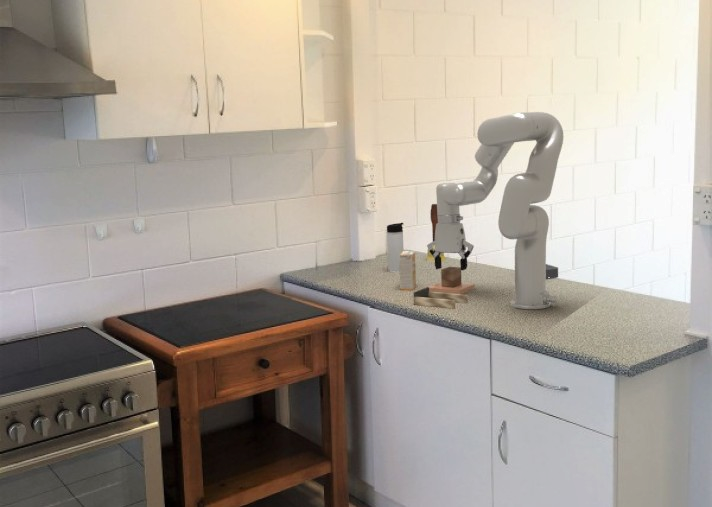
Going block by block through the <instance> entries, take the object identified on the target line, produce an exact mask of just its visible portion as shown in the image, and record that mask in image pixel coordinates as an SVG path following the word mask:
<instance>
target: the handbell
mask: <svg viewBox="0 0 712 507" xmlns="http://www.w3.org/2000/svg"><path fill="white" fill-rule="evenodd" d="M429 213H430V222H431V227H432V228H431V230H432V242H433V241H435V230H436V224H438V215H437V203H432V204H431V206H430V212H429ZM433 249H434V250H435V245H434V246H433ZM435 251H436V250H435ZM440 257H441V262H445V261H446V260H447V258H446V256H445V253H441V255H440ZM426 259H427V260H432V261H435V259H434V258H433V255H432V254H431V253H430V251H429V249H428V248H427V257H426ZM426 259H425V260H426ZM444 260H445V261H444Z"/></svg>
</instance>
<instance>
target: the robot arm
mask: <svg viewBox="0 0 712 507" xmlns="http://www.w3.org/2000/svg"><path fill="white" fill-rule="evenodd" d="M477 139H478V142H479V143H480V145H479V147H478V149H477V150H476V151H475V154H474V159H475V161H476V163H477V164H478V165H479V166H480V167H481V169H480V171H479V173H478V174H477V175H476V178H475V179H474V180H473V181H466V182H465V181H464V182H458V183H455V182H447V183H446V182H445V183H439V184H437V186H436V188H435V189H436V191H435V192H436V204H437V215H438V224H436V230H435V241H433V240H432V242H430V243H428V244H427V245H426V247H427V250H428V249H429V251H430V253H431V254H432V255H433V258H434V259H435V262H434V267H435V270H439V269H440V270H441V269H443V268H442V267H443V266H442V261H441V257H440V255H441V253H444V254H446V253H447V254H458V255H459V256H460V257H461V258H460V259H459V262H460V268H461V271H465V270H467V268H468V257H469V256H470V255H471V254H472V252H473V249H474V244H471V243H470V242H468V241H467V240H466V232H465V228H464V225H463V222H461V221H463V220H464V216H462V215H461V213H460V206H468V205H475V204H480V203H482V202H484V201H485V200H486V199H487V198H488V197H489V195H490V193H491V192H492V191H493V189H494V188H495V186H496V184H497V181H498V177H499V169H498V168H499V166H500V165H501V163H502V161H503V160H504V159H505V158H506V156H507V154H508V153H509V151H510V150H511V148H512V147H513V145H514V144H515V143H521V142H532V141H535V142H536V143H535V145H534V148H533V149H532V151H531V152H530V154H529V158H528V163H527V168H526V170H525V172H522V173H517V174H514V175H513V176H511V178H509V180H508V181H507V183H506V184H505V187H504V190H503V195H502V200H501V203H500V204H501V205H500V210H499V213H498V223H497V225H498V230H499V232H500V234H501V235H502V237H505V239H508V240H516V242H515V247H514V299H511V300H510V301H509V304H510V306H511V307H513V308H515V309H520V310H541V309H542V310H543V309H547V308H550V307H551V306H552V303H555V304H557V303H559V297H558V295H551V294H550V291H549V290H547V279H546V264H547V263H546V262H547V257H546V256H547V236H548V233H549V226H550V224H549V223H550V220H549V215H548V213H547V211H546V210H545V209H544V208H543V207H541V206H540V205H535V204H538V203H543V202H545V201H547V200H548V199H549V197H550V196H551V193H552V190H553V187H554V186H553V185H554V180H555V176H556V172H557V167H558V161H559V159H560V158H559V157H560V154H561V151H562V148H563V144H564V130H563V127H562V124H561V123H560V121H559V120H558V119H557V117H556V116H554V115H552V114H550V113H548V112H543V111H532V112H530V111H529V112H516V113H512V114H511V113H510V114H506V115H501V116H498V117H492V118H488V119H486V120H484V121H482V122H481V124H480V125H479V126H478V129H477ZM434 245H435V250H436V251H435V250H434V249H433V246H434ZM466 250H467V251H466Z"/></svg>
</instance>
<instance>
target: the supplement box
mask: <svg viewBox="0 0 712 507" xmlns="http://www.w3.org/2000/svg"><path fill="white" fill-rule="evenodd" d="M399 260H400V272H399V281H400V282H399V284H400V286H399V288H400V291H414V289H415V288H416V286H417V277H416V276H417V274H416V271H417V270H416V268H417V267H416V266H417V265H416V250H405V251H403V252H402V253H401V254H400V255H399Z"/></svg>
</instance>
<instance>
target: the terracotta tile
mask: <svg viewBox="0 0 712 507" xmlns="http://www.w3.org/2000/svg"><path fill="white" fill-rule="evenodd" d="M461 283H462V285H459V286H456V287H454V288H450V287H442V285H441V282H439V283H436V284H433V285H431V286H428V287H429V292H438V293H449V294H460V295H465V294H466V293H468V292H470V291H472V290H474V289H475V288H476V284H475V283H470V282H461Z"/></svg>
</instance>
